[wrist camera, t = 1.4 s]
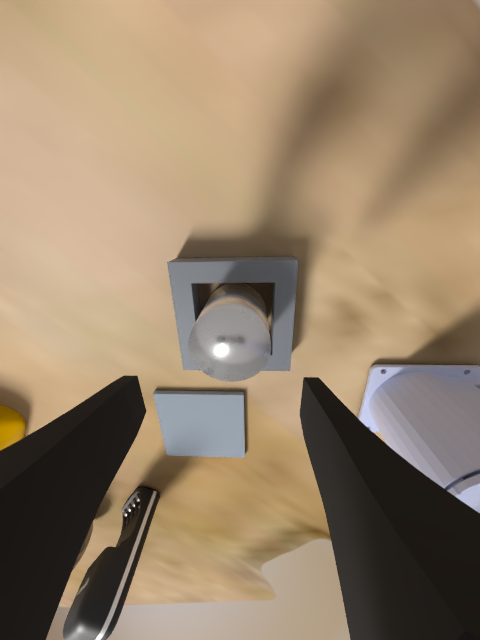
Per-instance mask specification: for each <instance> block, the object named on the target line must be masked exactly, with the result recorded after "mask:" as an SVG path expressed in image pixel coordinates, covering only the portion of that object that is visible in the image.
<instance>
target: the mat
mask: <svg viewBox="0 0 480 640" xmlns="http://www.w3.org/2000/svg"><path fill="white" fill-rule="evenodd" d="M153 396H154V400H155V405H156V409H157V413H158V418H159V422H160V427H161V431H162V435H163V440H164V444H165V449H166V453H167V455H173V456H206V457H240V458H245V429H244V392H229V391H158V390H155V391H154V393H153Z"/></svg>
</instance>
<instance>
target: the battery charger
mask: <svg viewBox="0 0 480 640" xmlns="http://www.w3.org/2000/svg"><path fill="white" fill-rule="evenodd" d="M159 498H160V494H159V493H157V491H152V490H150V489H146V488H138V489H137V490H135V492H134V493H133V494H132V495H131V497H130V498H129V499H128V501H127V502H126V503H125V505H124V506H123V508H122V512H123V526H122V531H121V535H120V538H119V540H118V543H117V545H116V547H107V548H106V549H105V550H104V551H103V552H102V553H101V554H100V555H99V556H98V558H97V559H96V560H95V561H94V562H93V564H92V565H91V566H90V567H89V568H88V570H87V572H86V575H85V577H84V579H83V581H82V583H81V585H80V588H79V590H78V592H77V594H76V597H75V599H74V601H73V604H72V606H71V608H70V611H69V613H68V615H67V618H66V621H65V624H64V629H63V638H64V639H65V640H106V639H107V638H108V637H109V636H110V635H111V633H112V631H113V630H114V628H115V626H116V624H117V621H118V619H119V616H120V614H121V611H122V608H123V605H124V602H125V600H126V597H127V594H128V591H129V588H130V585H131V582H132V579H133V576H134V573H135V570H136V567H137V564H138V561H139V558H140V555H141V552H142V549H143V546H144V543H145V540H146V537H147V534H148V530H149V527H150V524H151V521H152V518H153V515H154V512H155V509H156V506H157V504H158V501H159Z"/></svg>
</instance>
